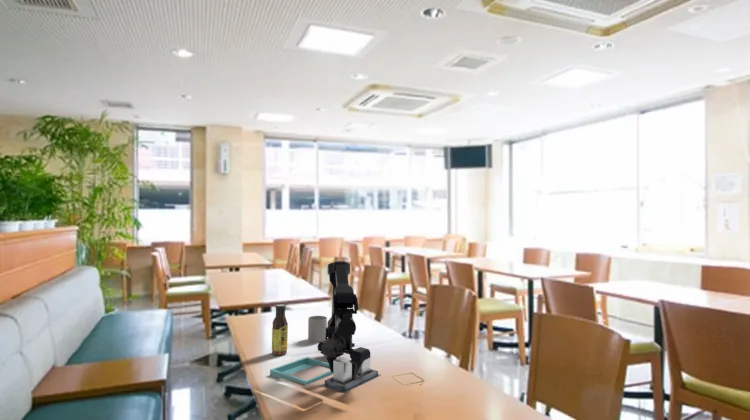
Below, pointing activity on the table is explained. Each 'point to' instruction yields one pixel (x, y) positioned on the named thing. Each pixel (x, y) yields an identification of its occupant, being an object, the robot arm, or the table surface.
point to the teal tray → (298, 366)
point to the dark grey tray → (355, 382)
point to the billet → (342, 371)
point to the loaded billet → (364, 368)
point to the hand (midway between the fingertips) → (343, 375)
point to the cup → (317, 328)
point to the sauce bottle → (279, 331)
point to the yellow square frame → (410, 383)
